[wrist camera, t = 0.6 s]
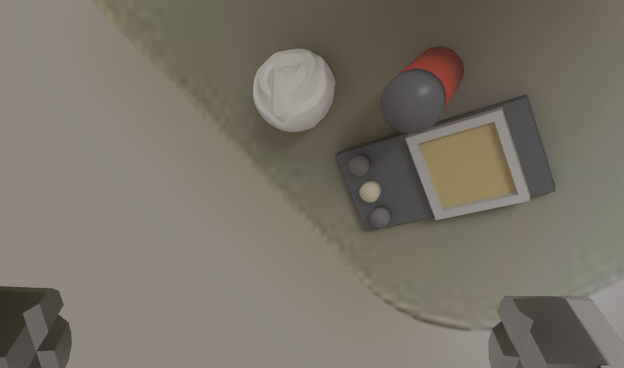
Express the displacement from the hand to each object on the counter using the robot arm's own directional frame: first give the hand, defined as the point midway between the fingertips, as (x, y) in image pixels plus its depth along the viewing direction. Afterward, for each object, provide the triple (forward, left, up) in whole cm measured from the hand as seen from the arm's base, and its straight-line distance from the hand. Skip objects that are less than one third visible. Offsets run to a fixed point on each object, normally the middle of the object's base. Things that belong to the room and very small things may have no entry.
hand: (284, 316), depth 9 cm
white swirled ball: (+17, -1, -41) cm, 44 cm away
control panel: (+8, +11, -40) cm, 43 cm away
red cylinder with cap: (+5, +2, -40) cm, 41 cm away
